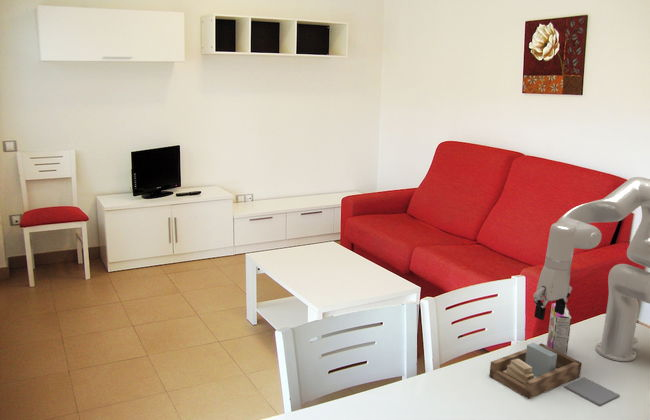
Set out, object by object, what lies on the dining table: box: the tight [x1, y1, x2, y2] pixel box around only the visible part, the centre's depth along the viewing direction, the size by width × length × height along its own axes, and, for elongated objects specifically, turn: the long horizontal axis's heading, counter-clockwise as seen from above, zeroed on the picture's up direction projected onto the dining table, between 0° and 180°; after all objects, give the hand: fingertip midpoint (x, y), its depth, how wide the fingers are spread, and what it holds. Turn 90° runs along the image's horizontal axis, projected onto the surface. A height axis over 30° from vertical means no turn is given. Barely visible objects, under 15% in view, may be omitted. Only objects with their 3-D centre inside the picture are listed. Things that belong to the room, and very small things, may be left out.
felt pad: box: [563, 376, 620, 407], centre depth 187 cm, size 10×12×1 cm
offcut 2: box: [510, 359, 532, 375], centre depth 190 cm, size 3×6×2 cm, turn 26°
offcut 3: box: [506, 365, 535, 384], centre depth 190 cm, size 3×8×2 cm, turn 31°
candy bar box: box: [546, 302, 572, 356], centre depth 208 cm, size 11×5×16 cm, turn 168°
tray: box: [488, 343, 583, 400], centre depth 195 cm, size 25×15×5 cm, turn 123°
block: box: [525, 342, 557, 378], centre depth 195 cm, size 3×9×9 cm, turn 33°
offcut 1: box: [503, 370, 526, 386], centre depth 191 cm, size 3×10×2 cm, turn 35°
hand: (549, 315), depth 192 cm, fingers open, 9 cm apart
